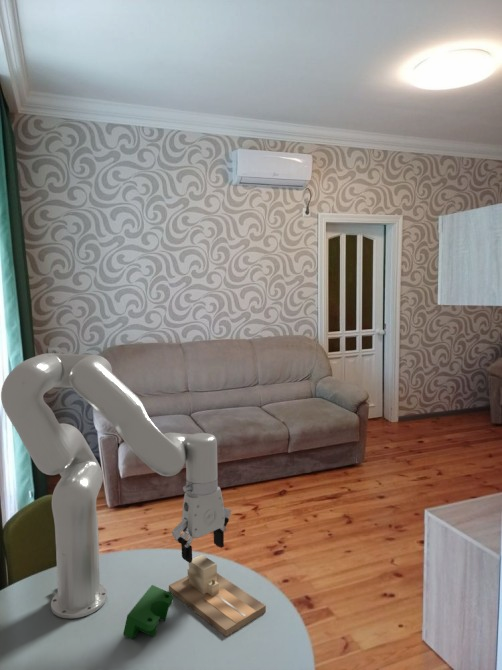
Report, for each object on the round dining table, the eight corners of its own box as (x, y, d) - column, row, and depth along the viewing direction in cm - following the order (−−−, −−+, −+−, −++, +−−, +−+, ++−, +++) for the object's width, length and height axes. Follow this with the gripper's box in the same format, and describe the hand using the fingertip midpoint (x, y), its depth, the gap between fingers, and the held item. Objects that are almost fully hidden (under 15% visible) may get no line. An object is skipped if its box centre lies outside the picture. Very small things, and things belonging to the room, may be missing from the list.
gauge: (184, 579, 122) (184, 557, 121) (197, 573, 124) (197, 551, 124) (209, 598, 114) (208, 573, 114) (222, 591, 117) (221, 567, 116)
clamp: (148, 657, 104) (148, 635, 99) (123, 645, 105) (122, 623, 100) (174, 606, 114) (175, 583, 109) (152, 596, 115) (152, 573, 110)
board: (168, 590, 120) (168, 584, 120) (207, 571, 128) (207, 566, 128) (226, 636, 104) (226, 629, 104) (265, 611, 112) (265, 605, 112)
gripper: (181, 500, 108) (183, 573, 110) (239, 479, 120) (239, 545, 122) (163, 490, 114) (165, 560, 115) (219, 471, 126) (220, 535, 127)
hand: (203, 552), depth 119 cm, fingers open, 9 cm apart
